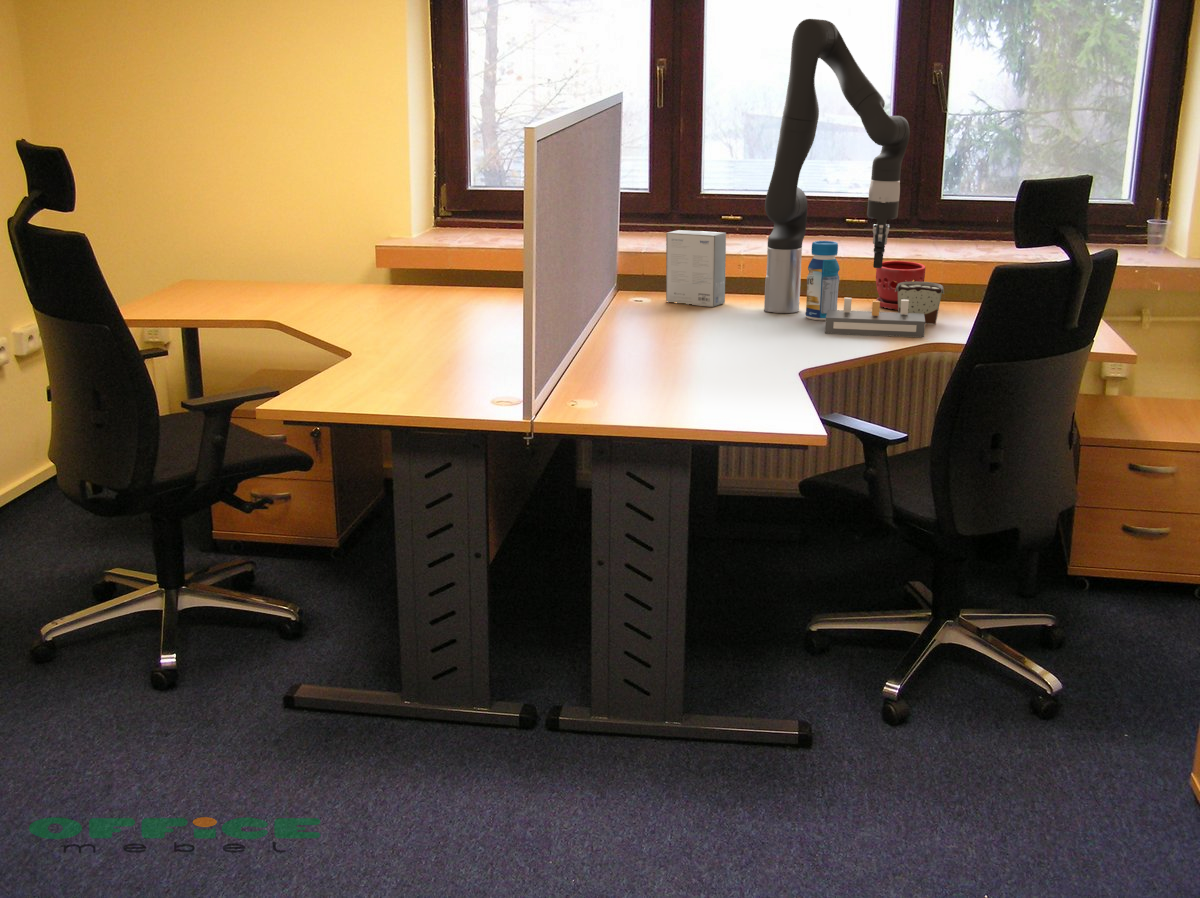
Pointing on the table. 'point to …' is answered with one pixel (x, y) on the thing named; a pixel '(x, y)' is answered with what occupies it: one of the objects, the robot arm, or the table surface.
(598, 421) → the table surface
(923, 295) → the food container
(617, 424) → the table surface
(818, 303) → the beverage bottle
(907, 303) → the switch right
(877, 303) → the switch mid
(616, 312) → the table surface
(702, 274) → the hard drive box
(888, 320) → the breaker block
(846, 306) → the switch left
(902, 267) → the plant pot
